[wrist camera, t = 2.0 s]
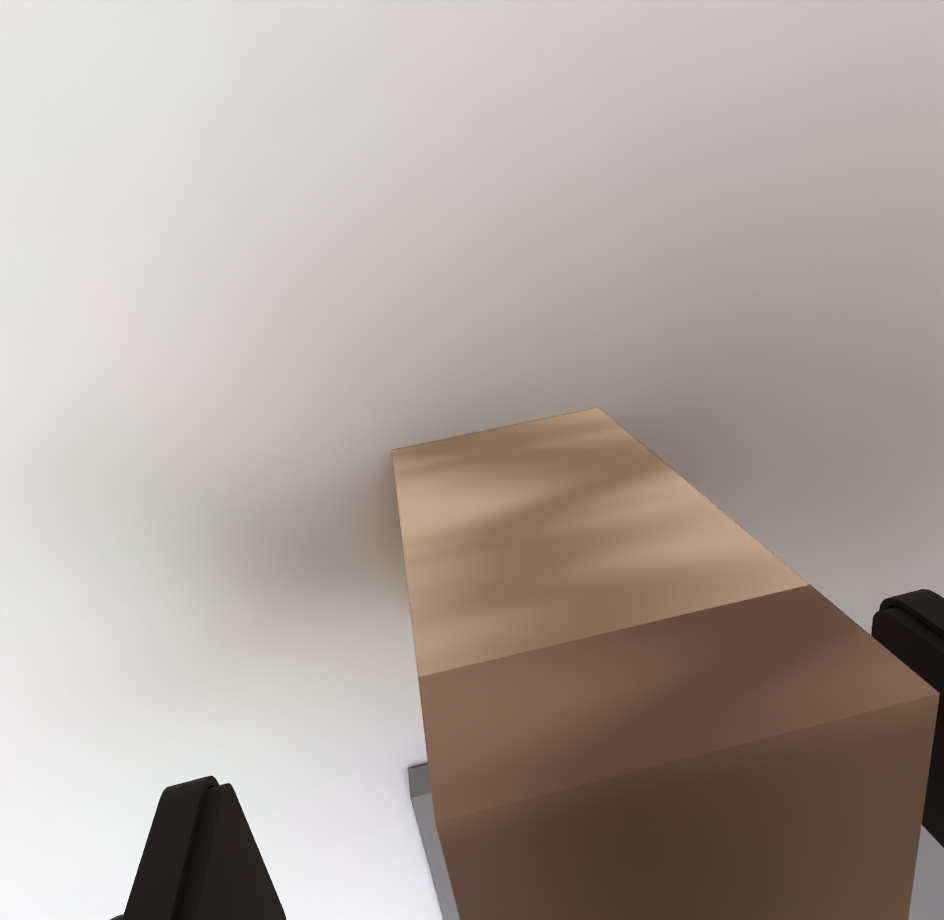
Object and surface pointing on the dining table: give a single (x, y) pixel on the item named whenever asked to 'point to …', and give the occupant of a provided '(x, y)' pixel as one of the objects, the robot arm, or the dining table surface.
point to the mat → (931, 910)
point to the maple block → (644, 696)
